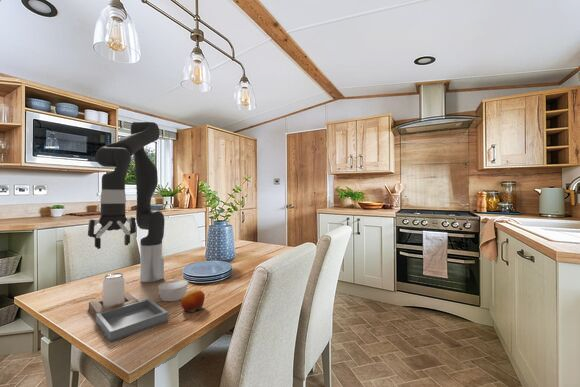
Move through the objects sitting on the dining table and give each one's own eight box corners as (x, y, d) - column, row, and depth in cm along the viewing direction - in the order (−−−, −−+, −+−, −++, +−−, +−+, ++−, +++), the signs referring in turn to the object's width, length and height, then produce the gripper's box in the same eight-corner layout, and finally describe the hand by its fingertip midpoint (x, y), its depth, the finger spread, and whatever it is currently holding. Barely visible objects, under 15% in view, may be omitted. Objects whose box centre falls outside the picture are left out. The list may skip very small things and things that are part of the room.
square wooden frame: (127, 298, 103) (127, 291, 103) (138, 307, 94) (138, 300, 94) (88, 308, 93) (88, 301, 93) (97, 320, 85) (97, 312, 85)
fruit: (194, 313, 87) (186, 290, 89) (181, 320, 91) (174, 298, 93) (213, 304, 94) (205, 283, 96) (200, 311, 97) (193, 290, 100)
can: (113, 313, 90) (113, 279, 90) (98, 311, 91) (98, 277, 91) (128, 305, 96) (128, 273, 96) (114, 303, 98) (114, 272, 97)
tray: (148, 306, 95) (148, 298, 95) (167, 321, 85) (167, 312, 85) (96, 323, 83) (96, 313, 83) (110, 342, 73) (110, 331, 73)
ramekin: (181, 289, 112) (181, 277, 112) (192, 297, 104) (192, 284, 104) (154, 296, 104) (154, 284, 104) (163, 305, 96) (163, 291, 96)
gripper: (132, 201, 101) (131, 242, 101) (86, 202, 91) (86, 248, 91) (138, 202, 96) (138, 245, 96) (91, 202, 86) (90, 251, 86)
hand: (112, 246), depth 94 cm, fingers open, 8 cm apart
